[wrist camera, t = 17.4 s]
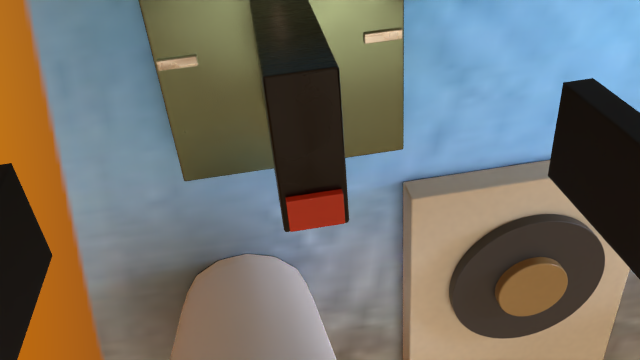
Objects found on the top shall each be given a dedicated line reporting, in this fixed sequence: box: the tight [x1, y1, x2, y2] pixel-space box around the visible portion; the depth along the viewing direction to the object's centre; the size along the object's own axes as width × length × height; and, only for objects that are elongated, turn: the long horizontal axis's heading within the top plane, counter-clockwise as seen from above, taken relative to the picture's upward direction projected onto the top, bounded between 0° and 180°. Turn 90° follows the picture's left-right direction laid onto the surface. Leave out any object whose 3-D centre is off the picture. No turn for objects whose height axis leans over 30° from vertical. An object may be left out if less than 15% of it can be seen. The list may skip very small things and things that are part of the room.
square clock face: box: [139, 0, 404, 181], centre depth 22 cm, size 10×9×2 cm
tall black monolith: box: [249, 0, 349, 232], centre depth 18 cm, size 5×2×8 cm, turn 4°
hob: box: [403, 160, 630, 360], centre depth 34 cm, size 24×12×3 cm, turn 4°
